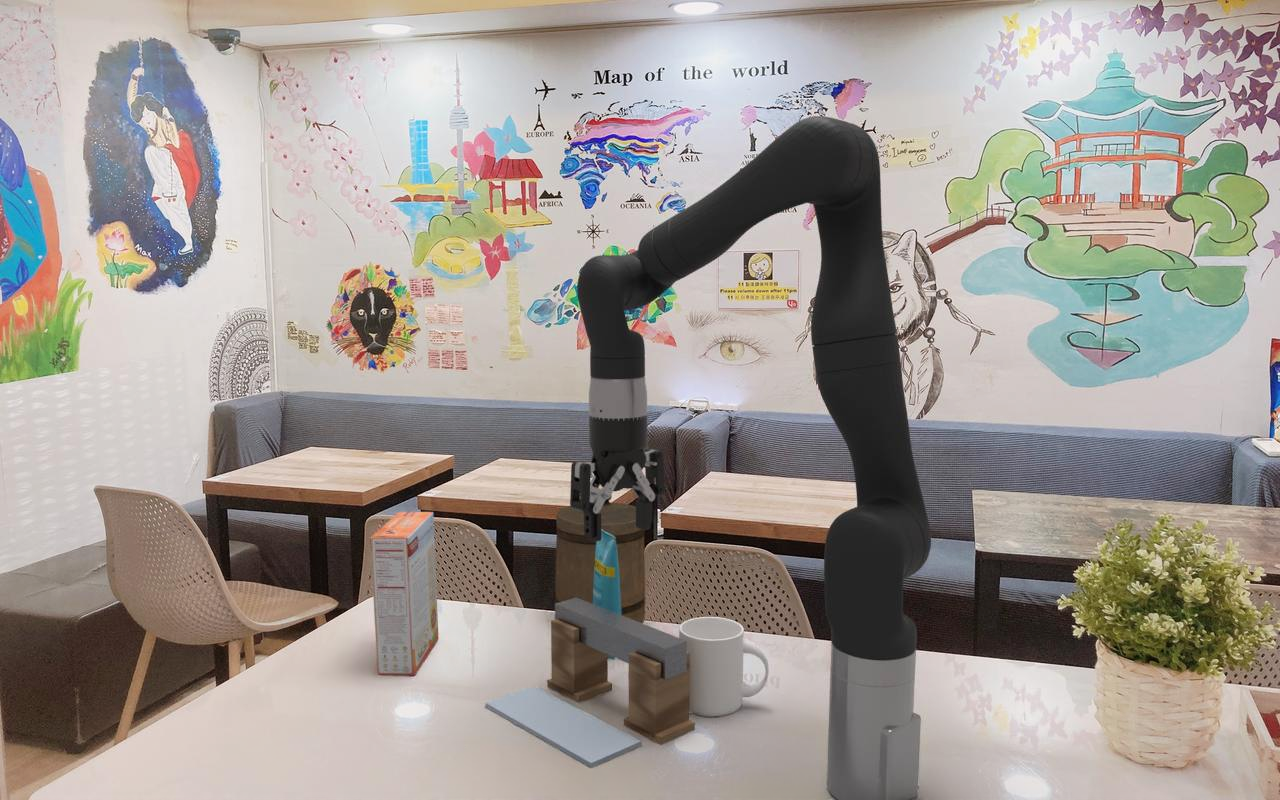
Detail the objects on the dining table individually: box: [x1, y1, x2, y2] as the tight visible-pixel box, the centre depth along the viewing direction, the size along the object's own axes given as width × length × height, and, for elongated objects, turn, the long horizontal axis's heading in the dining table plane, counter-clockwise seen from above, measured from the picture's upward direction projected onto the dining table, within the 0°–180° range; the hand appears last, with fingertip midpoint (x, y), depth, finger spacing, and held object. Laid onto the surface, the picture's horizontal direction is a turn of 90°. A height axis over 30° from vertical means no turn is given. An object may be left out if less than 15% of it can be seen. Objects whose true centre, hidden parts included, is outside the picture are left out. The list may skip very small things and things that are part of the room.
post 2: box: [622, 652, 696, 746], centre depth 129 cm, size 7×6×10 cm
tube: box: [593, 529, 622, 660], centre depth 153 cm, size 7×5×19 cm, turn 28°
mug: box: [678, 616, 770, 717], centre depth 136 cm, size 9×12×11 cm
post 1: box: [546, 618, 613, 704], centre depth 141 cm, size 7×6×10 cm
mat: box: [485, 685, 642, 768], centre depth 131 cm, size 22×8×1 cm, turn 43°
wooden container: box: [555, 494, 646, 624], centre depth 167 cm, size 15×15×22 cm
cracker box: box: [369, 511, 439, 676], centre depth 151 cm, size 14×6×21 cm, turn 176°
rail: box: [554, 598, 687, 680], centre depth 135 cm, size 22×4×4 cm, turn 43°
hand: (619, 534), depth 133 cm, fingers open, 8 cm apart
